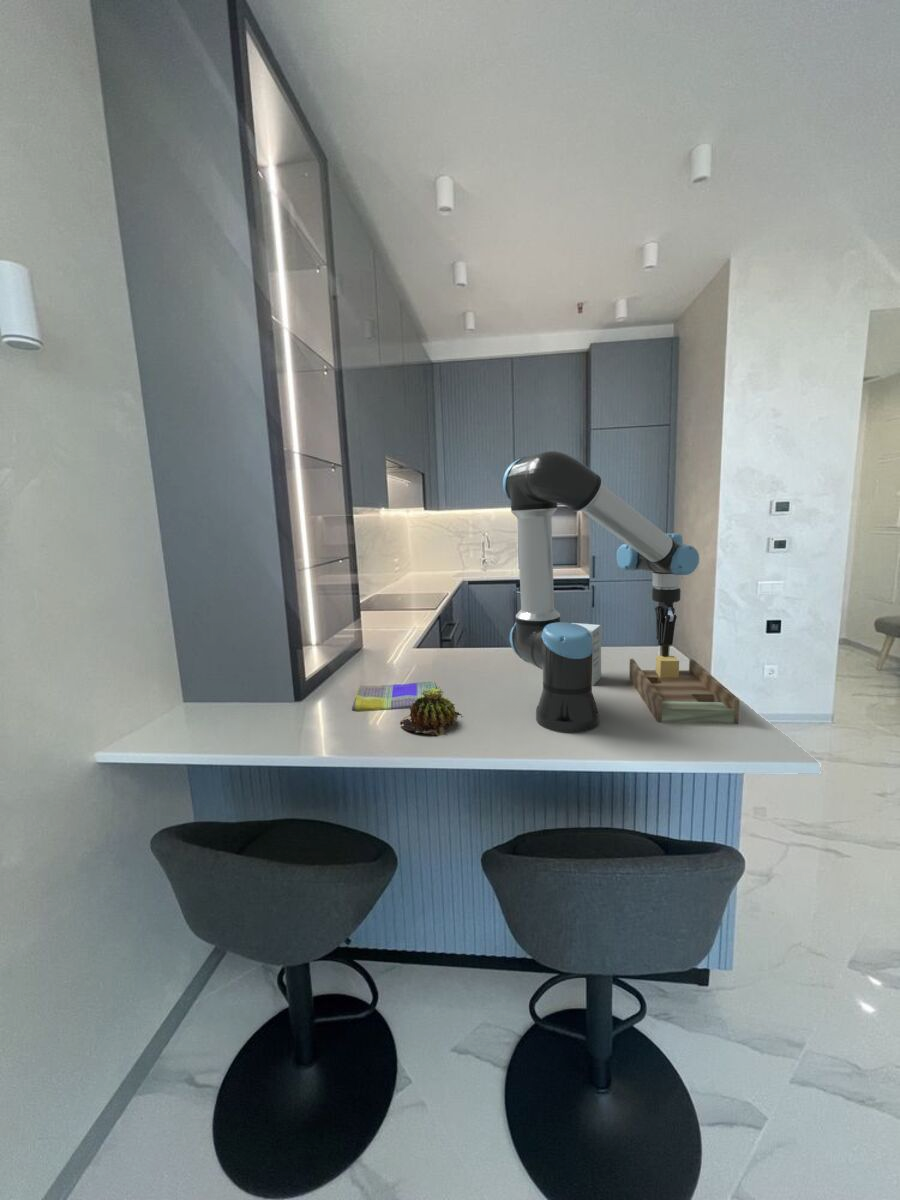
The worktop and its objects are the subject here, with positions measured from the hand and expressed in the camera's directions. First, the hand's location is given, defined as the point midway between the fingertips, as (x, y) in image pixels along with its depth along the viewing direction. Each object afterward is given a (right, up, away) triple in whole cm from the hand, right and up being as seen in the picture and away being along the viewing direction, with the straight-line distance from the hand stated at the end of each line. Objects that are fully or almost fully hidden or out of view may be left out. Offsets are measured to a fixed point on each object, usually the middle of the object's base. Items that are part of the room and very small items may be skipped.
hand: (663, 665), depth 149 cm
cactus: (-67, -12, -23) cm, 72 cm away
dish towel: (-79, -9, -5) cm, 79 cm away
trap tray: (-2, -7, -14) cm, 16 cm away
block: (0, -2, -3) cm, 4 cm away
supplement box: (-23, -5, +5) cm, 24 cm away
